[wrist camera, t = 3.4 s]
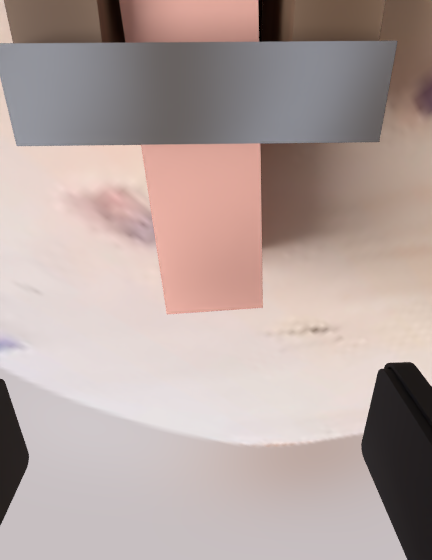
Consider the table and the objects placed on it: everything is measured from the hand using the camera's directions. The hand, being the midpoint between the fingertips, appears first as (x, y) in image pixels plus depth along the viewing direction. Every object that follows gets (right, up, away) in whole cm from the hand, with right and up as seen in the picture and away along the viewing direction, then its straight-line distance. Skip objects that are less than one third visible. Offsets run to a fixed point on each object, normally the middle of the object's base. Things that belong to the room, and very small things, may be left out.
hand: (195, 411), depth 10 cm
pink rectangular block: (0, +11, +8) cm, 14 cm away
